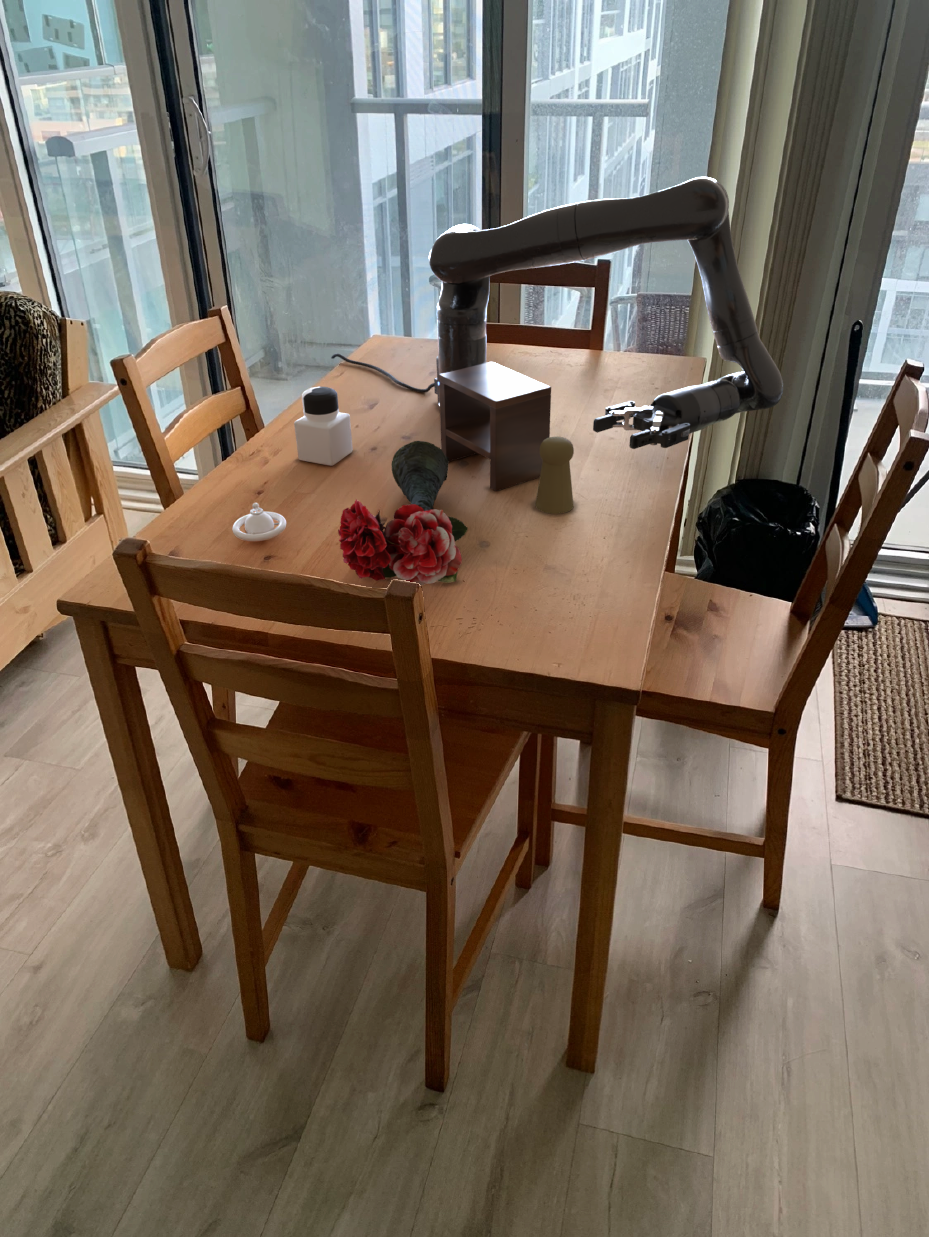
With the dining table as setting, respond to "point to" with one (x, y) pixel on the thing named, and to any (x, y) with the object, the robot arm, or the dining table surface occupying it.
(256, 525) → the ring around a ball
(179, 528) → the dining table surface
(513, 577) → the dining table surface
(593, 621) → the dining table surface
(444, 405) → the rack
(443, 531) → the carnation
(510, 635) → the dining table surface
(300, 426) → the medicine bottle
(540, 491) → the cork
